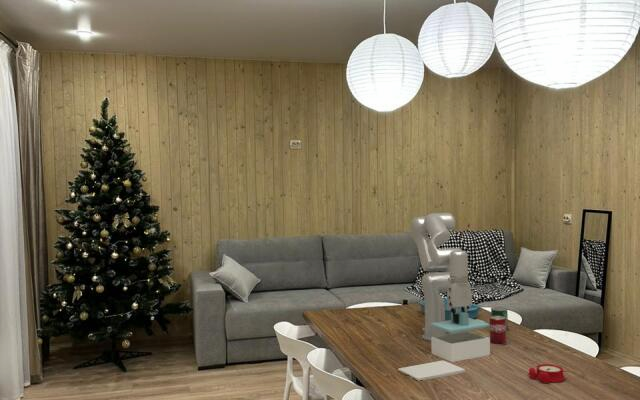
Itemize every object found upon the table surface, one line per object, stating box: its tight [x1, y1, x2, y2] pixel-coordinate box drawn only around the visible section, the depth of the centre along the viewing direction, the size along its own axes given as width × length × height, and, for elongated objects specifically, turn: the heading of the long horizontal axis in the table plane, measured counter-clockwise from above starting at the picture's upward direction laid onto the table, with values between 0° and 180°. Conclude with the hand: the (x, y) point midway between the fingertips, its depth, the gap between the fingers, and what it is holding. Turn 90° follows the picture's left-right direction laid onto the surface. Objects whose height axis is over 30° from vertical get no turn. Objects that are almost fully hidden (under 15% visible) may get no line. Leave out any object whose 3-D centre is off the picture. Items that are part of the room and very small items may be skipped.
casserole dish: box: [419, 298, 481, 321], centre depth 322 cm, size 37×22×7 cm, turn 30°
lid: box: [430, 311, 490, 334], centre depth 247 cm, size 22×14×7 cm, turn 115°
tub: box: [430, 331, 491, 363], centre depth 246 cm, size 20×14×8 cm
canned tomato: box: [490, 306, 509, 333], centre depth 287 cm, size 8×8×11 cm
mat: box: [397, 359, 466, 382], centre depth 227 cm, size 14×22×1 cm, turn 115°
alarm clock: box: [527, 363, 570, 384], centre depth 215 cm, size 10×6×15 cm
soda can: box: [489, 316, 508, 346], centre depth 264 cm, size 7×7×12 cm
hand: (459, 321), depth 246 cm, fingers closed on lid, 3 cm apart
